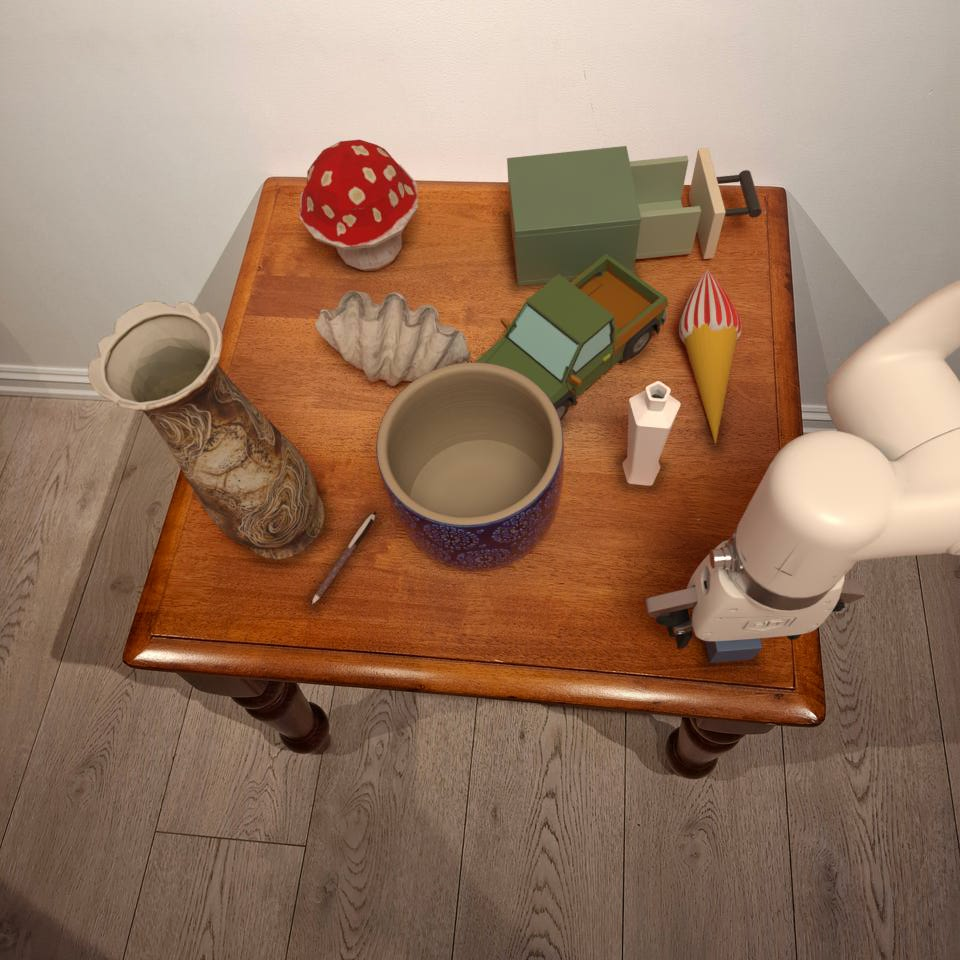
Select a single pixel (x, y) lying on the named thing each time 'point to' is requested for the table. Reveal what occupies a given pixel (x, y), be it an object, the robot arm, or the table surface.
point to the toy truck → (579, 330)
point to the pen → (344, 556)
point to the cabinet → (571, 212)
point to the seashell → (391, 337)
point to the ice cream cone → (710, 343)
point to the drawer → (676, 226)
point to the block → (733, 650)
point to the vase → (210, 427)
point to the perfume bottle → (648, 432)
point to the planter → (473, 464)
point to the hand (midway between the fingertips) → (732, 627)
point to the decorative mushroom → (358, 203)
